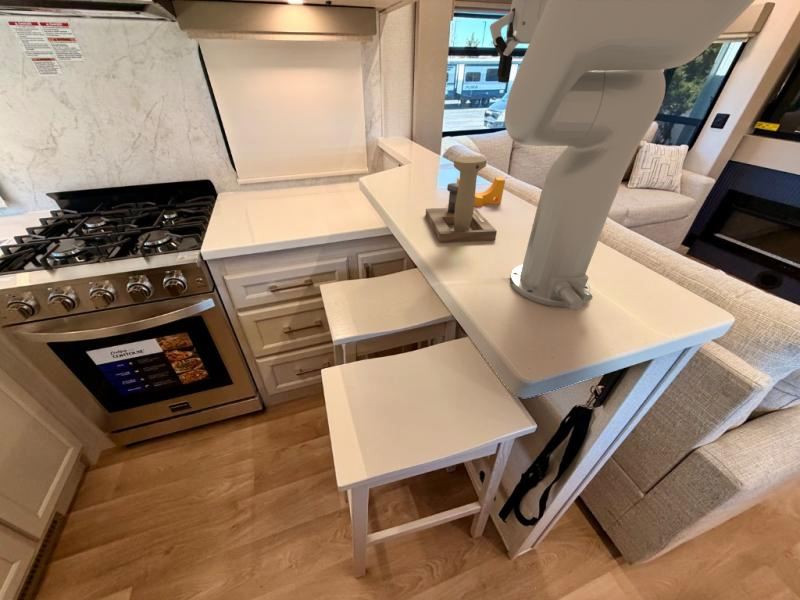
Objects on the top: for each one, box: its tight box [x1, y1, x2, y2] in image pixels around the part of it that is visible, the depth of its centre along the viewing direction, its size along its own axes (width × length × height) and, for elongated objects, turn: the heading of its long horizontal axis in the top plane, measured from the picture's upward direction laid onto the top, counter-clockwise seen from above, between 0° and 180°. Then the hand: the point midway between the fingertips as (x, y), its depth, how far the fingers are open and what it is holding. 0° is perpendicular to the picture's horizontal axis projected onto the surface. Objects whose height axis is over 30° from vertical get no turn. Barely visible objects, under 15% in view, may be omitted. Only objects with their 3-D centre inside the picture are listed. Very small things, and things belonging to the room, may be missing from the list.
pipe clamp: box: [456, 177, 506, 207], centre depth 86 cm, size 12×4×6 cm, turn 93°
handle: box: [453, 156, 488, 231], centre depth 68 cm, size 5×6×15 cm
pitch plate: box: [425, 182, 498, 244], centre depth 72 cm, size 15×12×8 cm
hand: (526, 82), depth 62 cm, fingers open, 9 cm apart
